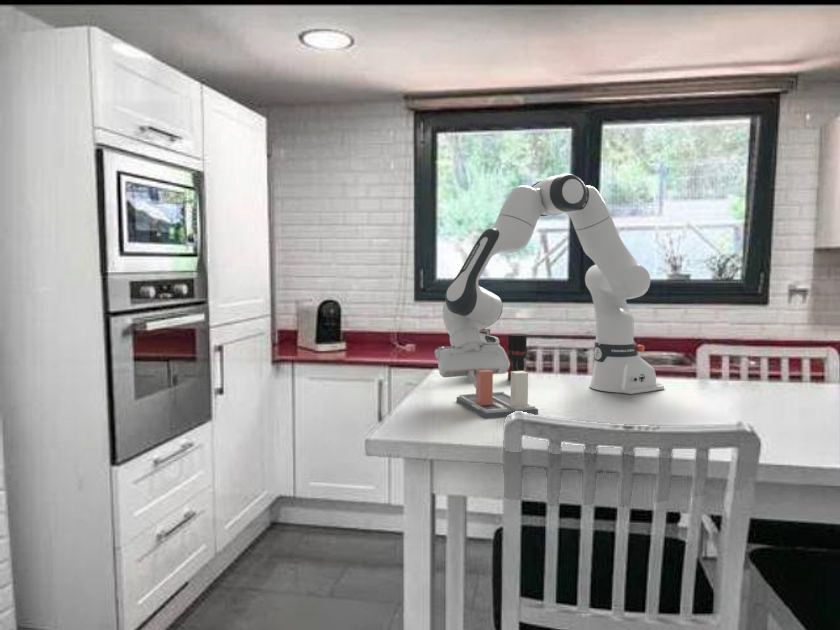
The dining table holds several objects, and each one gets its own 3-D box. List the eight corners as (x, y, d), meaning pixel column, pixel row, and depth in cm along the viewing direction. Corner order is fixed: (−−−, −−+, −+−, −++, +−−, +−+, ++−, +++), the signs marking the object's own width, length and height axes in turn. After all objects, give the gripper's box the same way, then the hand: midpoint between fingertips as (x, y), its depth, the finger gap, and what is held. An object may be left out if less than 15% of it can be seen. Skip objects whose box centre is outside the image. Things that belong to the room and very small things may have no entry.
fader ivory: (522, 403, 172) (522, 370, 171) (527, 406, 169) (528, 372, 168) (510, 404, 171) (510, 371, 170) (515, 407, 168) (516, 373, 167)
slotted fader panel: (504, 397, 186) (504, 391, 186) (538, 413, 167) (538, 406, 167) (456, 401, 181) (456, 394, 181) (485, 418, 162) (485, 411, 162)
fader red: (487, 402, 174) (488, 369, 173) (492, 404, 171) (492, 371, 170) (475, 403, 172) (476, 370, 172) (480, 405, 170) (480, 372, 169)
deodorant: (525, 381, 209) (525, 336, 208) (506, 380, 210) (507, 335, 209) (526, 378, 215) (527, 333, 213) (509, 377, 216) (509, 333, 215)
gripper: (435, 340, 176) (448, 382, 168) (503, 337, 182) (518, 377, 174) (430, 354, 181) (442, 395, 172) (496, 350, 187) (511, 390, 179)
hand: (481, 386), depth 173 cm, fingers closed, pressing on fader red
